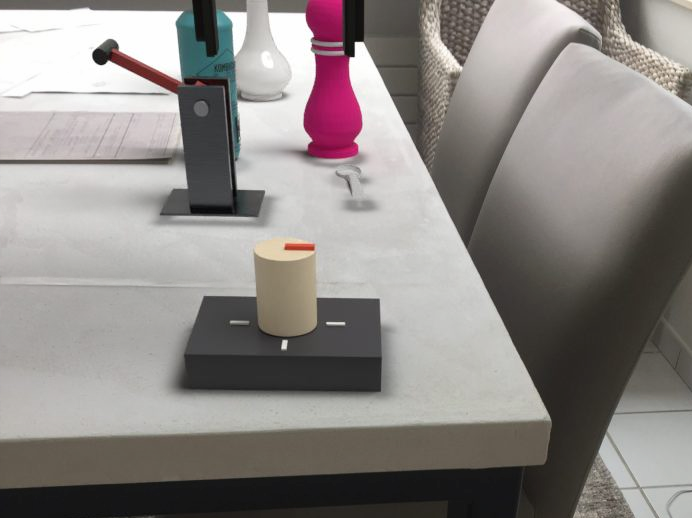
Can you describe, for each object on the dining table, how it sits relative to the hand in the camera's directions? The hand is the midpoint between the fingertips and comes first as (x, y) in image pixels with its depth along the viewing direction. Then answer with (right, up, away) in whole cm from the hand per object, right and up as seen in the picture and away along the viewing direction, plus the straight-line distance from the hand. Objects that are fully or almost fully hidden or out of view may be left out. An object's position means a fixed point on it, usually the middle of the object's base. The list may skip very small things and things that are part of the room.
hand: (281, 53), depth 64 cm
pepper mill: (+1, +11, +48) cm, 49 cm away
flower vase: (-11, +31, +73) cm, 80 cm away
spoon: (+4, +3, +38) cm, 38 cm away
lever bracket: (-11, -1, +31) cm, 33 cm away
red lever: (-15, +9, +24) cm, 30 cm away
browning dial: (0, -19, +4) cm, 19 cm away
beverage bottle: (-13, +9, +44) cm, 47 cm away
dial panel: (0, -21, +5) cm, 22 cm away
